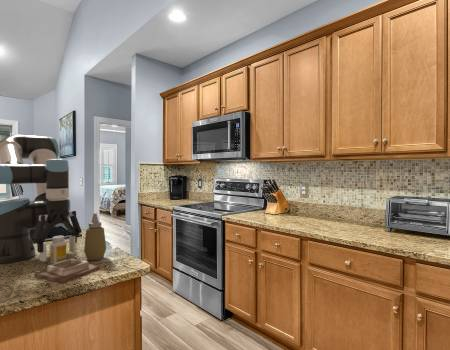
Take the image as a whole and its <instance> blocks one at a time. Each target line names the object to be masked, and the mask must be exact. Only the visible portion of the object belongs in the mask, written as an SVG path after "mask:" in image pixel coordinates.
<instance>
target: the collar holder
mask: <svg viewBox="0 0 450 350" xmlns="http://www.w3.org/2000/svg"><path fill="white" fill-rule="evenodd" d="M100 267H101V266H100V265H95V264H91V263H90V261H89V260H88V261H87V260H82V259H76V258H73V257H70V258H68V259H67V258H66V260H64V261H61V262H58V263H51V264H48V265H47V266H46V269H43V270H39V271H36V272H34V277H37V278H41V279H44V280H49V281H52V282H55V283H59V284H64V283H68V282H69V281H72V280H75V279H77V278H80V277H82V276H85V275H88V274H90V273H93V272H95V271H99V270H100V269H101V268H100Z"/></svg>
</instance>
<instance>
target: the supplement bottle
mask: <svg viewBox="0 0 450 350" xmlns="http://www.w3.org/2000/svg"><path fill="white" fill-rule="evenodd" d="M49 246H50V247H49V249H50V250H49V253H50V254H49V257H50V258H49V262H50V263H51V264H54V263H58V262H61V261H64V260H67V242H66V241H65V235H54V236H52V241H51V243H50V245H49Z"/></svg>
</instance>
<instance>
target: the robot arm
mask: <svg viewBox="0 0 450 350" xmlns="http://www.w3.org/2000/svg"><path fill="white" fill-rule="evenodd" d="M59 155H60V149H59V144H58V140H57V138H55V137H54V136H47V135H44V136H43V135H42V136H41V135H30V134H26V135H25V134H13V135H8V136H6V137H4V138H3V139H1V140H0V185H21V184H35V188H36V189H35V190H36V195H37V196H35V198H34V200H30V198H29V197H22V198H13V199H9V200H8V199H7V200H3V201H0V264H8V263H15V262H20V261H24V260H25V261H26V260H28V259H30V258H32V257H34V256H35V255H36V248H37V253H39V261H41V262H47V243H46V242H45V241H46V240H47V237H48V236H49V234H50V232H51V231H52V229H53V228H55V227H56V228H58V227H60V226H62V227H63V226H64V227H65V228H66V230H67V231H68V233H69V234H70V235H69V238H68V239H69V240H68V243H69V244H68V245H69V249H68V250H69V251H68V252H69V253H76V251H77V250H76V248H77V246H76V244H77V243H78V236H79V235H80V234H81V233H82V229H81V226H80V225H81V224H80V222H79V220H78V217H77V211H76V210H71V200H70V199H69V197H70V194H69V193H70V188H69V185H70V184H69V182H70V179H69V175H70V174H69V170H70V167H69V161H68V160H67V159H65V158H60V159H59ZM23 159H24V160H26V159H28V161H29V162H30V163H31V164H27V163H24V160H23ZM30 230H34V232H33V235H32V236H31V235H30V232H31V231H30ZM31 237H32V238H31ZM34 244H36V248H35V246H34Z"/></svg>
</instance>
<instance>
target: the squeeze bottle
mask: <svg viewBox="0 0 450 350" xmlns="http://www.w3.org/2000/svg"><path fill="white" fill-rule="evenodd" d="M105 236H106V235H105V228H104V227H102V221H99V217H98V213H96V212H95V213H93V215H92V219H91V222H88V228H87V229H85V238H84V250H83V252H84V255H85V258H86V259H87V260H88V261H99V260H102V259H104V258H105V254H106V252H107V243H106V237H105Z"/></svg>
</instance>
